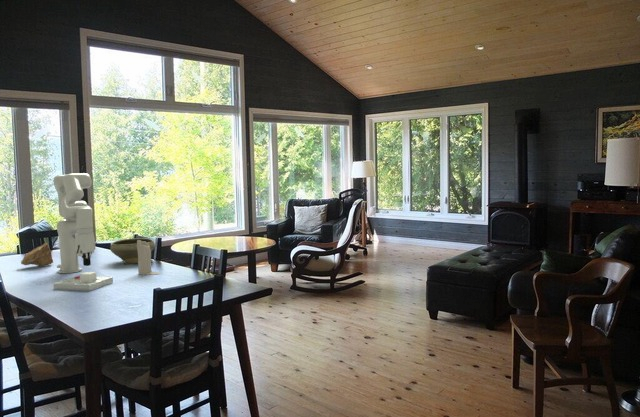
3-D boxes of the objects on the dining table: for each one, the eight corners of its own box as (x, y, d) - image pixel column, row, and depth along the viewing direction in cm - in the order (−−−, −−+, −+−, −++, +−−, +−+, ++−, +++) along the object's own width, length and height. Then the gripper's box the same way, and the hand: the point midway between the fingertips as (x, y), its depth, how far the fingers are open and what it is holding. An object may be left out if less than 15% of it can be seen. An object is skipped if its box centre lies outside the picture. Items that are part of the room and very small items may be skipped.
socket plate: (53, 289, 259) (53, 281, 259) (78, 281, 277) (78, 274, 276) (89, 291, 254) (89, 283, 253) (112, 282, 271) (112, 275, 270)
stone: (53, 263, 329) (51, 241, 328) (54, 266, 321) (52, 243, 319) (21, 267, 320) (19, 243, 318) (21, 269, 311) (19, 246, 310)
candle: (158, 275, 287) (156, 240, 285) (136, 274, 290) (134, 240, 288) (164, 272, 294) (162, 238, 292) (142, 271, 297) (141, 238, 295)
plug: (80, 287, 263) (79, 273, 262) (87, 284, 267) (86, 271, 267) (90, 287, 261) (89, 274, 260) (96, 285, 266) (96, 272, 265)
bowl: (141, 256, 350) (140, 236, 349) (164, 261, 332) (163, 239, 331) (102, 262, 328) (101, 241, 327) (124, 267, 311) (124, 244, 310)
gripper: (89, 228, 270) (90, 262, 272) (68, 233, 256) (70, 268, 258) (100, 229, 268) (102, 262, 270) (80, 233, 254) (83, 269, 256)
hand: (87, 265), depth 264 cm, fingers closed
